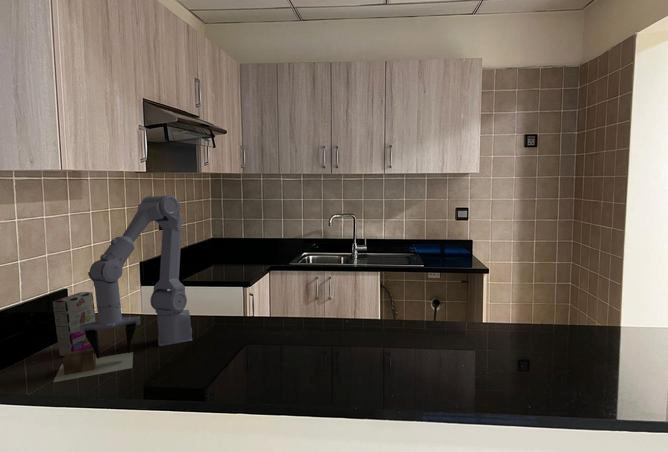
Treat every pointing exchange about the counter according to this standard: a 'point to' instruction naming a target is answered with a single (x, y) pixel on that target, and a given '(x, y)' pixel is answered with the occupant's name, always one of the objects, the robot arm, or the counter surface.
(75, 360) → the walnut block
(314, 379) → the counter surface
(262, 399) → the counter surface
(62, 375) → the cream board
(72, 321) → the candy bar box
